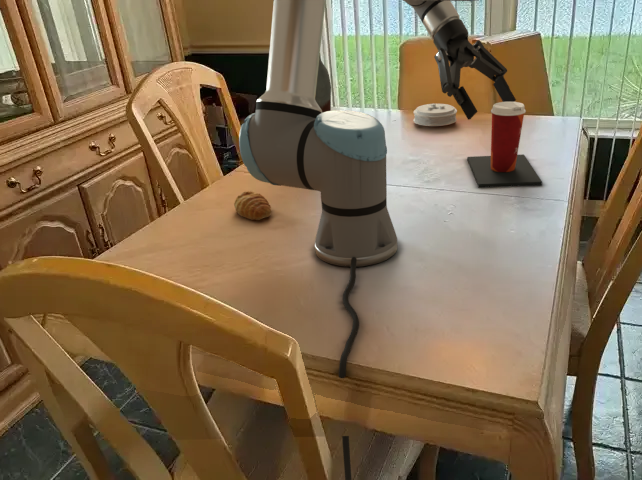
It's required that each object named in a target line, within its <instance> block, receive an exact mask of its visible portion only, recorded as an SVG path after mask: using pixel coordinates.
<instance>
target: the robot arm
mask: <svg viewBox="0 0 642 480" xmlns="http://www.w3.org/2000/svg"><path fill="white" fill-rule="evenodd" d="M402 1H403V2H405V3H406V4H407V5H408V6H411V8H413V10H414V11H415V13H416V15H417V16H418V18H419V20H420V22H421V23H422V24H423V26H424V28H425V30H426V32H427V33H428V35H429V37H430V38H431V40H433V41H432V42H433V45H434V46H435V48H436V49H437V52H436V53H435V55H434V57H433V58H434V60H435V62H436V64H437V69H438V75H439V76H438V77H439V81H440V82H439V83H440V88H441V92H442V93H443V94H446V95H447V96H448V97H449V98H451V97H453V98H454V100H455V102H456V103H457V105H458V106H459V107H460V108H461V110H462V111H463V113H464V116H465V117H466V118H467V120H468V121H469V120H472V118H473V117H474V116H475V115H476V114H477V113H478V112H479V111H478V109H477V107H476V105H475V104H474V103H473V100H472V99H471V97H470V95H469V94H468V92H467V90H466V88H465V87H464V85H462V86H461V84H460V83H461V71H462V70H461V69H463V68H470V69H474V70H477V71H478V72H479V73H481V74H482V75H484V76H485V77H487V78H488V79H489V80H491V81H492V82H493V83H492V85H493V87H494V89H495V91H496V92H497V94H498V96H499V98H500V99H501V102H517V99H516V97H515V95H514V94H513V92H512V89H511V88H510V85H509V83H508V82H507V81H506V78H505V77H504V76H505V75H506V74H507V72H508V69H507V67H506V66H504V64H502V62H500V61H499V60H498V59H497V58H496V57H495V56H494V55H493V54H492V53H491V52H490V51H488V49H487V48H486V47H485V46H484V44H483V43H482V42H481V40H479V39H478V40H476V42H474V43H473V44H472V43H471V42H470V40H469V30H468V29H467V27H466V25H465V23H464V22H463V20H462V19H461V17H460V14H459V13H458V10H457V9H456V8H455V5H454V4H453V2H470V3H472V2H475V1H478V0H402ZM272 5H273V7H272V17H271V29H270V41H269V53H268V63H267V77H266V90H265V91H264V93H263V94H261V96H259V97H258V98H257V99H256V102H255V112H254V113H251V114H249V115H248V116H247V117H246V118H245V119H244V123H242V124H241V125H240V129H239V136H238V146H239V152H240V157H241V161H242V162H243V165H244V166H245V167H246V169H247V172H248V173H249V174H250V175H251V176H252V177H253V179H255V180H257V181H259V182H262V183H266V184H270V185H273V186H282V187H289V188H296V189H303V190H310V191H317V192H320V201H321V202H320V203H321V214H320V218H319V223H318V226H317V229H316V235H315V239H314V249H315V251H314V252H315V254H316V257H318V258H319V260H322V261H323V262H325V263H327V264H329V265H333V266H338V267H345V268H346V267H347V268H348V267H349V268H350V272H349V273H350V274H349V280H348V284H347V285H346V287H345V289H344V290H343V291H344V292H343V293H342V303H343V306H344V308H345V310H346V311H347V313H348V314H349V315H350V317H351V319H352V327H351V331H350V333H349V335H348V337H347V340H346V343H345V345H344V348H343V351H342V353H341V356H340V359H339V364H338V378H339V379H345V378H346V374H347V363H348V359H349V355H350V353H351V350H352V348H353V345H354V342H355V340H356V337H357V334H358V332H359V329H360V318H359V315H358V313H357V311H356V310H355V309H354V307H353V306H352V305H351V303H350V300H349V299H350V294H351V292H352V290H353V288H354V286H355V283H356V278H357V277H356V276H357V268H358V267H367V266H373V265H376V264H379V263H383V262H384V261H387V260H388V259H390V258H392V257H393V256H394V255H395V254H396V253H397V251H398V236H397V233H396V230H395V227H394V225H393V221H392V218H391V215H390V212H389V210H388V202H387V198H388V197H387V195H388V194H387V191H388V190H387V189H388V188H387V187H388V186H387V154H388V147H387V141H386V132H385V128H384V125H383V124H382V123H381V122H380V120H378V118H376V117H374V116H372V115H371V114H368V113H364V112H361V111H356V110H348V109H345V110H339V109H334V110H331V111H327V112H323V113H322V110H321V108H320V107H319V105H318V104H317V102H316V100H315V94H316V84H317V75H318V66H319V58H320V56H321V46H322V38H323V29H324V28H323V27H324V19H325V18H324V17H325V9H326V0H273V4H272ZM341 440H342V454H343V456H342V457H343V468H344V480H353V479H352V465H351V451H350V450H351V449H350V436H349V435H342V436H341Z"/></svg>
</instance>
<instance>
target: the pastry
mask: <svg viewBox="0 0 642 480" xmlns="http://www.w3.org/2000/svg"><path fill="white" fill-rule="evenodd" d="M233 205H234V208H235V211H236V213H237V214H238V215H239V216H241V217H244V218H245V219H248V220H251V221H252V220H256V221H260V220H262V219H265V218H268V217H271V214H272V213H273V211H272V208H271V205H270V203H269V200H267V198H265V196H264V195H262V194H261V193H257V192H256V193H255V192H254V191H249V190H248V191H244V192H242V193H240V194H239V195H238V196H237V197H236V198H235V199H234V203H233Z"/></svg>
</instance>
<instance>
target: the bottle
mask: <svg viewBox="0 0 642 480" xmlns="http://www.w3.org/2000/svg"><path fill="white" fill-rule="evenodd" d="M315 100H316V102H317V104H318V105H319V107H320V108H321V110H322V113H323V112H327V111H332V83H331V77H330V74H329V70H328V68H327V67H326V66H325V64H324V62H323V61H322V59H321V58H320V57H319V66H318V75H317V84H316V94H315Z"/></svg>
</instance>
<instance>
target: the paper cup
mask: <svg viewBox="0 0 642 480" xmlns="http://www.w3.org/2000/svg"><path fill="white" fill-rule="evenodd" d="M525 108H526V107H525V104H524V103H522V102H519V101H515V102H503V101H499V102H496V103H493V105H492V108H491V109H490V113H491V130H490V131H491V132H490V135H491V137H490V156H491V170H493V171H496V172H510V171H513V170H514V169H515V165H516V160H517V155H519V154H518V153H519V146H520V142H521V135H522V131H523V124H524V118H525V117H524V116H525V114H526V112H527V110H526V109H525Z"/></svg>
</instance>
